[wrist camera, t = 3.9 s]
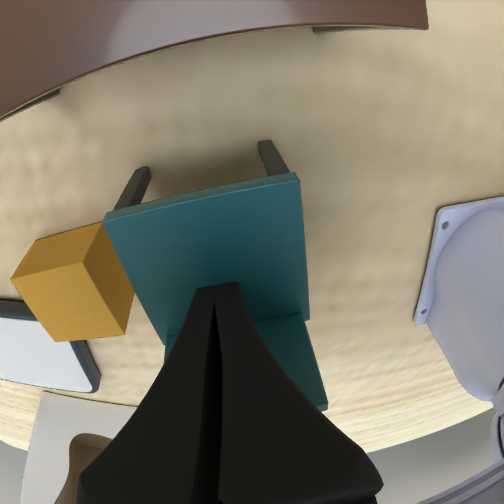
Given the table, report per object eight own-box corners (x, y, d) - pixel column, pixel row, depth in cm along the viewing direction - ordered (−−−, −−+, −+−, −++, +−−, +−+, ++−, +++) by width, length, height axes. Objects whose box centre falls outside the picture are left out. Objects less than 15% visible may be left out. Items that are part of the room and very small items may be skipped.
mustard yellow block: (135, 290, 17) (125, 335, 14) (70, 301, 17) (54, 343, 14) (103, 220, 14) (82, 262, 11) (35, 240, 14) (9, 279, 11)
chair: (288, 253, 16) (337, 408, 9) (171, 276, 16) (157, 434, 9) (273, 136, 13) (349, 266, 6) (132, 167, 13) (55, 318, 6)
